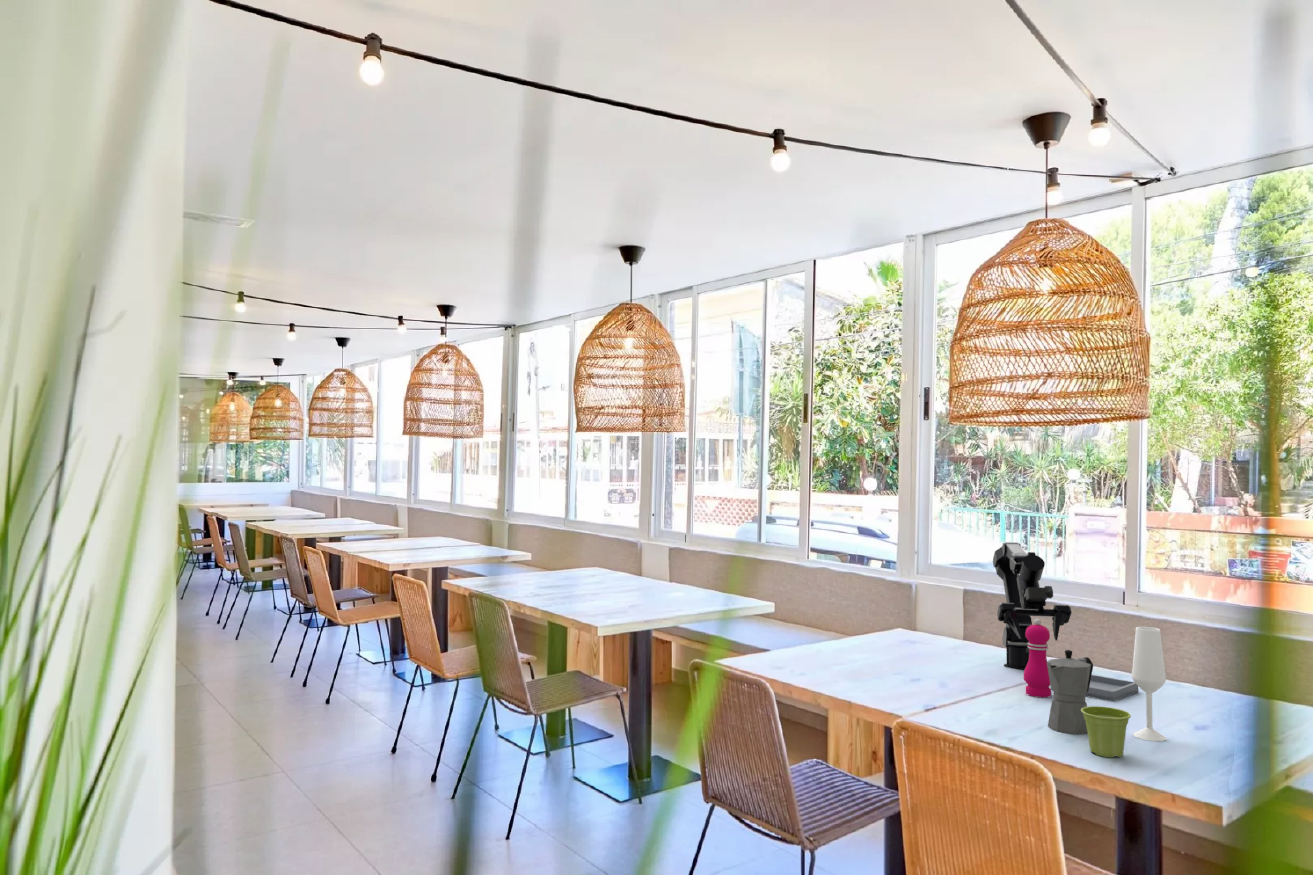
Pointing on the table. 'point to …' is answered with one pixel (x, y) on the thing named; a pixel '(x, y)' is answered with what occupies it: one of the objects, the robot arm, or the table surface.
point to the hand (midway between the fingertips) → (1038, 638)
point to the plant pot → (1106, 730)
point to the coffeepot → (1069, 693)
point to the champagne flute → (1148, 673)
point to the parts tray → (1110, 688)
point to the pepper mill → (1037, 661)
